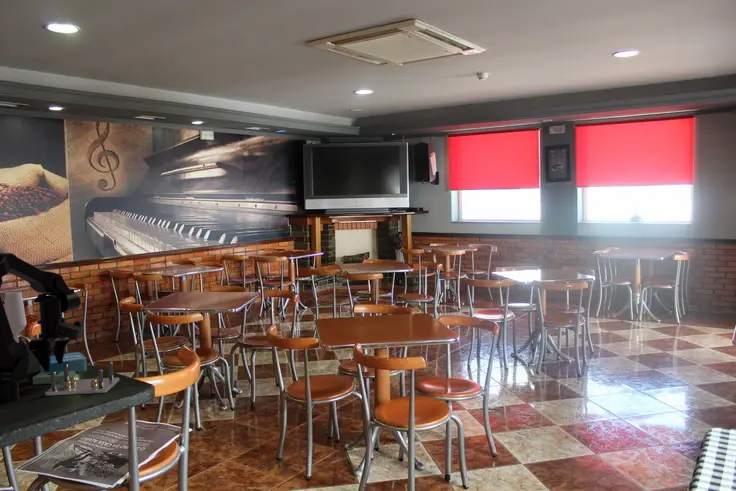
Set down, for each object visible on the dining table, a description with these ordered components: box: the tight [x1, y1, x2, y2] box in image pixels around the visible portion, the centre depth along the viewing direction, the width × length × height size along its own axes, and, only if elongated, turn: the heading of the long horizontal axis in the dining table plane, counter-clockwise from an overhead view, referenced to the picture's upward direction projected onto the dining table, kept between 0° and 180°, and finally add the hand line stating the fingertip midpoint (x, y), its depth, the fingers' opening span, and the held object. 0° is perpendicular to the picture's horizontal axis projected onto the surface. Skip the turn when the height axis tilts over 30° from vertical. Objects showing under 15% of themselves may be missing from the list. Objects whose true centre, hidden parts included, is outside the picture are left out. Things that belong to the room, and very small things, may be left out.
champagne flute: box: [4, 291, 28, 342], centre depth 208 cm, size 7×7×24 cm
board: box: [32, 371, 76, 385], centre depth 183 cm, size 6×10×3 cm, turn 96°
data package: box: [39, 351, 88, 373], centre depth 194 cm, size 12×4×12 cm
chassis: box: [44, 361, 120, 397], centre depth 174 cm, size 12×16×6 cm
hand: (53, 367), depth 183 cm, fingers open, 9 cm apart
